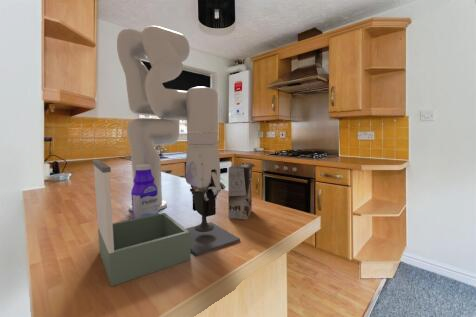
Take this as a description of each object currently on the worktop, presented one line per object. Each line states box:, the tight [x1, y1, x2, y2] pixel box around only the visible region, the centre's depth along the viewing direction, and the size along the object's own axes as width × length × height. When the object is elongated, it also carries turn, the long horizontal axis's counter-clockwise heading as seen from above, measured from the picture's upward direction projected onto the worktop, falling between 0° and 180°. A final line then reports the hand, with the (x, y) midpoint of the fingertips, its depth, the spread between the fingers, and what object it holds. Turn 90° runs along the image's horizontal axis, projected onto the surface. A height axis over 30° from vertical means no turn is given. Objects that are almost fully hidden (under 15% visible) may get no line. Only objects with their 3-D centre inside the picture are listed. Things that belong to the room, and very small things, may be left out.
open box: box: [91, 159, 192, 287], centre depth 51 cm, size 15×15×21 cm
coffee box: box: [227, 163, 253, 220], centre depth 77 cm, size 9×6×16 cm
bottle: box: [130, 164, 160, 219], centre depth 70 cm, size 7×6×17 cm
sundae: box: [189, 184, 214, 232], centre depth 60 cm, size 7×7×15 cm
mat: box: [185, 221, 241, 257], centre depth 61 cm, size 14×12×1 cm
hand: (203, 211), depth 60 cm, fingers closed on sundae, 4 cm apart
